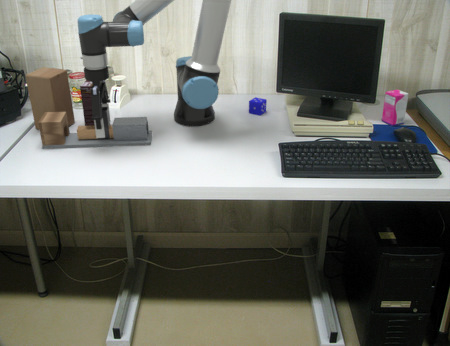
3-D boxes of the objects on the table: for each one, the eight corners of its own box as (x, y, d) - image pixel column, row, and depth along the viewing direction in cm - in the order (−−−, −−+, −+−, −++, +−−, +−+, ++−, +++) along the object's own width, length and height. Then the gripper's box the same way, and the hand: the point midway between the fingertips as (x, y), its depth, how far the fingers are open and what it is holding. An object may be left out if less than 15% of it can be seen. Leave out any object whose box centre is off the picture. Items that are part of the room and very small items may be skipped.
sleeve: (148, 132, 172) (147, 116, 170) (147, 140, 166) (146, 124, 164) (116, 133, 172) (114, 117, 169) (114, 141, 166) (112, 125, 163)
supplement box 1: (98, 129, 177) (92, 86, 170) (85, 129, 177) (78, 86, 170) (104, 120, 185) (99, 78, 177) (91, 120, 185) (86, 78, 177)
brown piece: (145, 133, 171) (143, 105, 166) (144, 137, 168) (142, 109, 163) (80, 135, 169) (75, 107, 165) (78, 139, 166) (73, 111, 162)
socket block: (69, 133, 172) (66, 111, 168) (64, 144, 164) (60, 121, 160) (49, 134, 171) (45, 112, 167) (42, 145, 163) (38, 122, 160)
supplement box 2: (392, 118, 186) (397, 88, 180) (404, 123, 181) (409, 93, 176) (380, 120, 184) (385, 91, 178) (391, 126, 179) (397, 96, 174)
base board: (152, 133, 174) (151, 130, 174) (150, 145, 166) (150, 142, 165) (49, 136, 172) (49, 133, 172) (42, 148, 163) (42, 145, 163)
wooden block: (75, 122, 183) (67, 69, 173) (59, 133, 174) (49, 77, 165) (52, 119, 186) (43, 66, 176) (35, 129, 177) (24, 74, 168)
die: (248, 113, 191) (248, 100, 188) (254, 109, 195) (255, 97, 192) (260, 115, 188) (260, 103, 186) (266, 111, 192) (266, 99, 190)
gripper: (90, 56, 167) (97, 115, 178) (76, 78, 146) (85, 145, 156) (112, 55, 168) (119, 115, 178) (102, 78, 146) (110, 144, 156)
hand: (103, 129), depth 167 cm, fingers open, 12 cm apart
